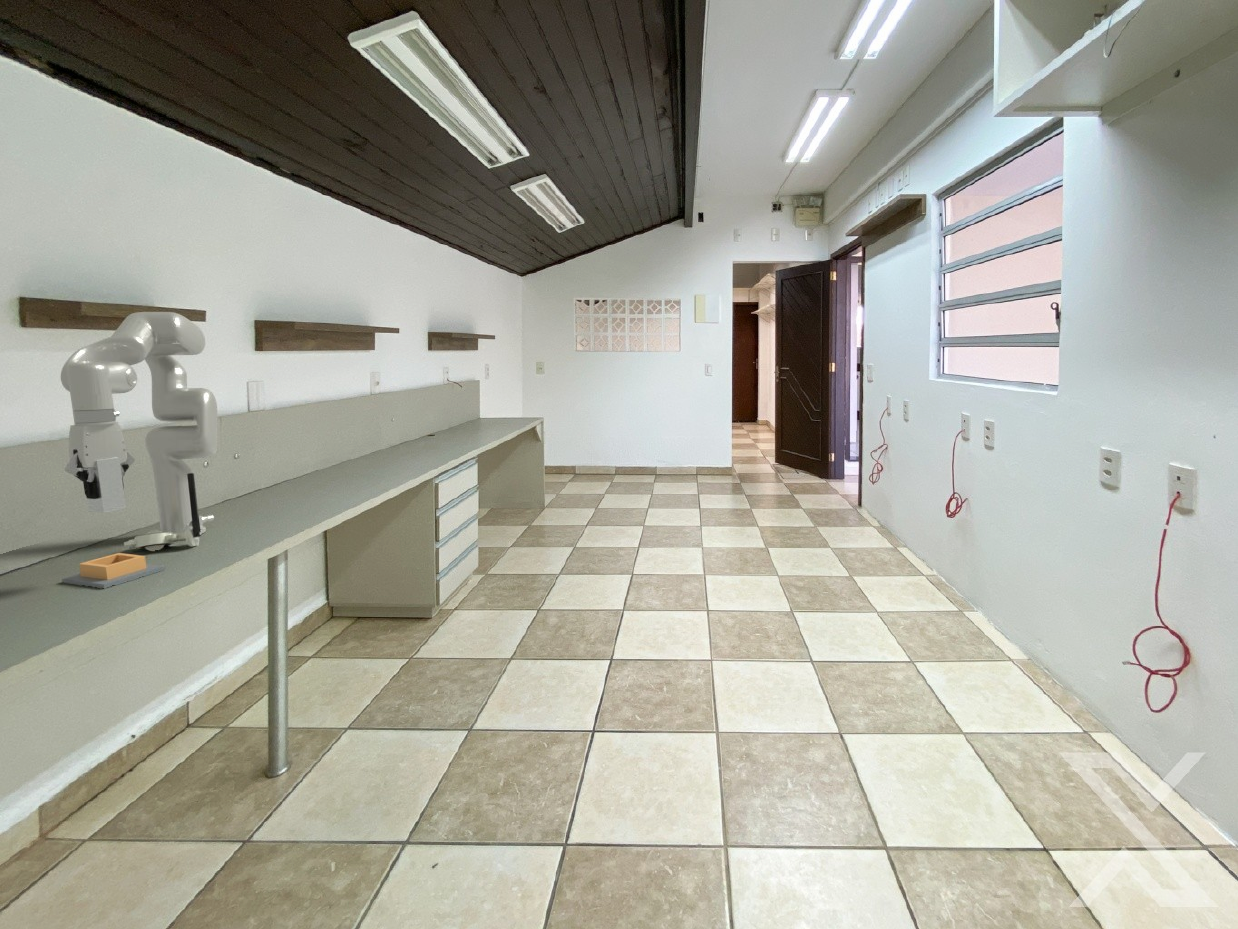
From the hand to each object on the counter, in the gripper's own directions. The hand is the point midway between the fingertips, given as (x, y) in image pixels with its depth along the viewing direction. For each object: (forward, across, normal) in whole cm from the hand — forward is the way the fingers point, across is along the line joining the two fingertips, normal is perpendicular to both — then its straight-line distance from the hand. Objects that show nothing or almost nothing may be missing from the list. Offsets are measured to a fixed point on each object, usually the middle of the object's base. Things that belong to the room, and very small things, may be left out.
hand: (105, 495), depth 157 cm
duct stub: (+4, 0, 0) cm, 4 cm away
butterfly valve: (+20, -20, -11) cm, 30 cm away
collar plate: (+19, 0, 0) cm, 19 cm away
